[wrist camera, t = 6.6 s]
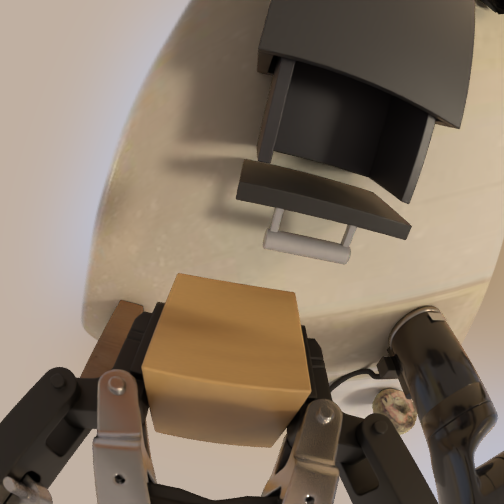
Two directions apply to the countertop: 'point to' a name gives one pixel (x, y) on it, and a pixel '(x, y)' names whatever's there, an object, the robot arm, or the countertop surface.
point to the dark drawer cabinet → (381, 46)
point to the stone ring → (396, 409)
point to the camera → (495, 5)
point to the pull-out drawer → (334, 156)
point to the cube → (226, 363)
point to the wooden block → (111, 340)
